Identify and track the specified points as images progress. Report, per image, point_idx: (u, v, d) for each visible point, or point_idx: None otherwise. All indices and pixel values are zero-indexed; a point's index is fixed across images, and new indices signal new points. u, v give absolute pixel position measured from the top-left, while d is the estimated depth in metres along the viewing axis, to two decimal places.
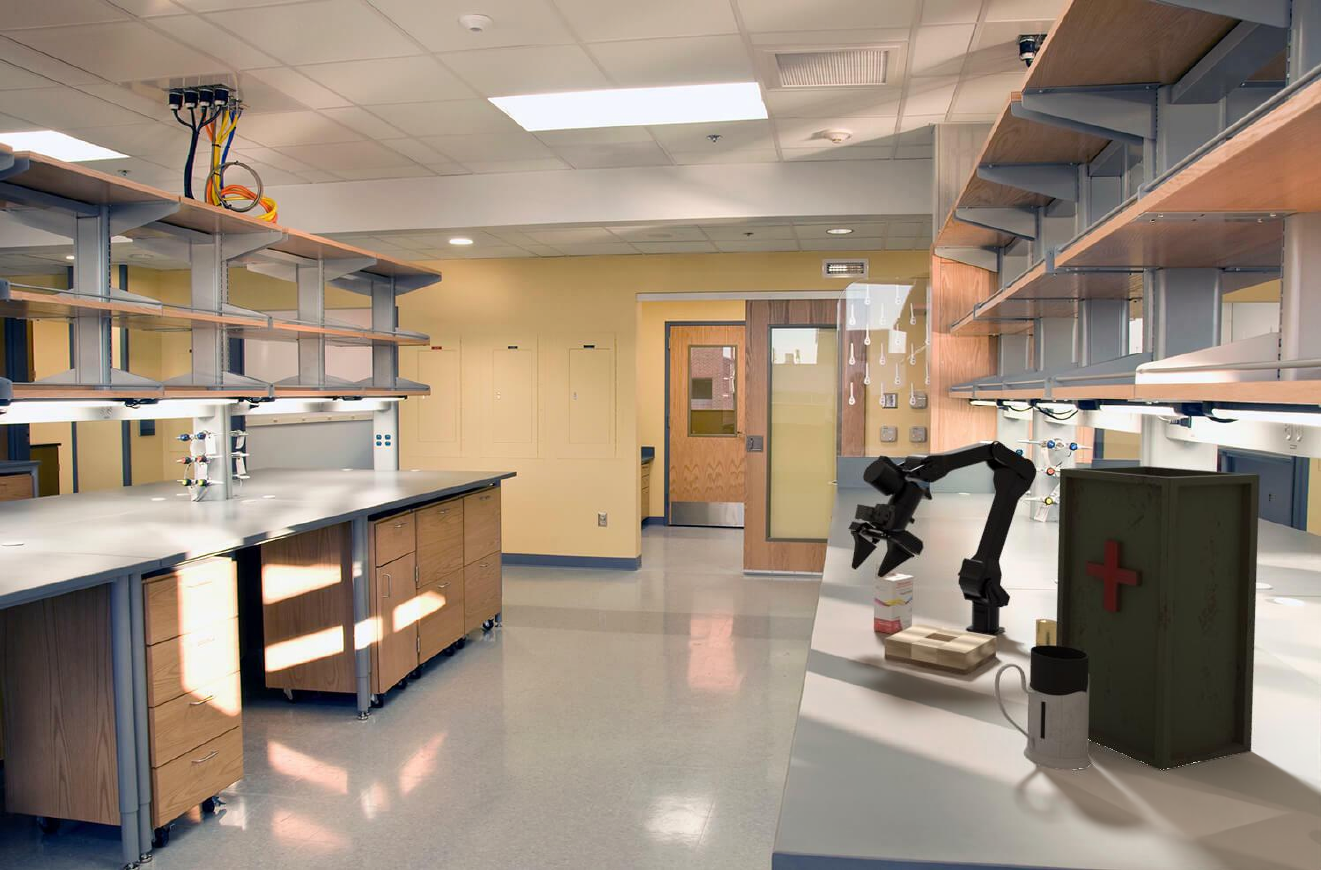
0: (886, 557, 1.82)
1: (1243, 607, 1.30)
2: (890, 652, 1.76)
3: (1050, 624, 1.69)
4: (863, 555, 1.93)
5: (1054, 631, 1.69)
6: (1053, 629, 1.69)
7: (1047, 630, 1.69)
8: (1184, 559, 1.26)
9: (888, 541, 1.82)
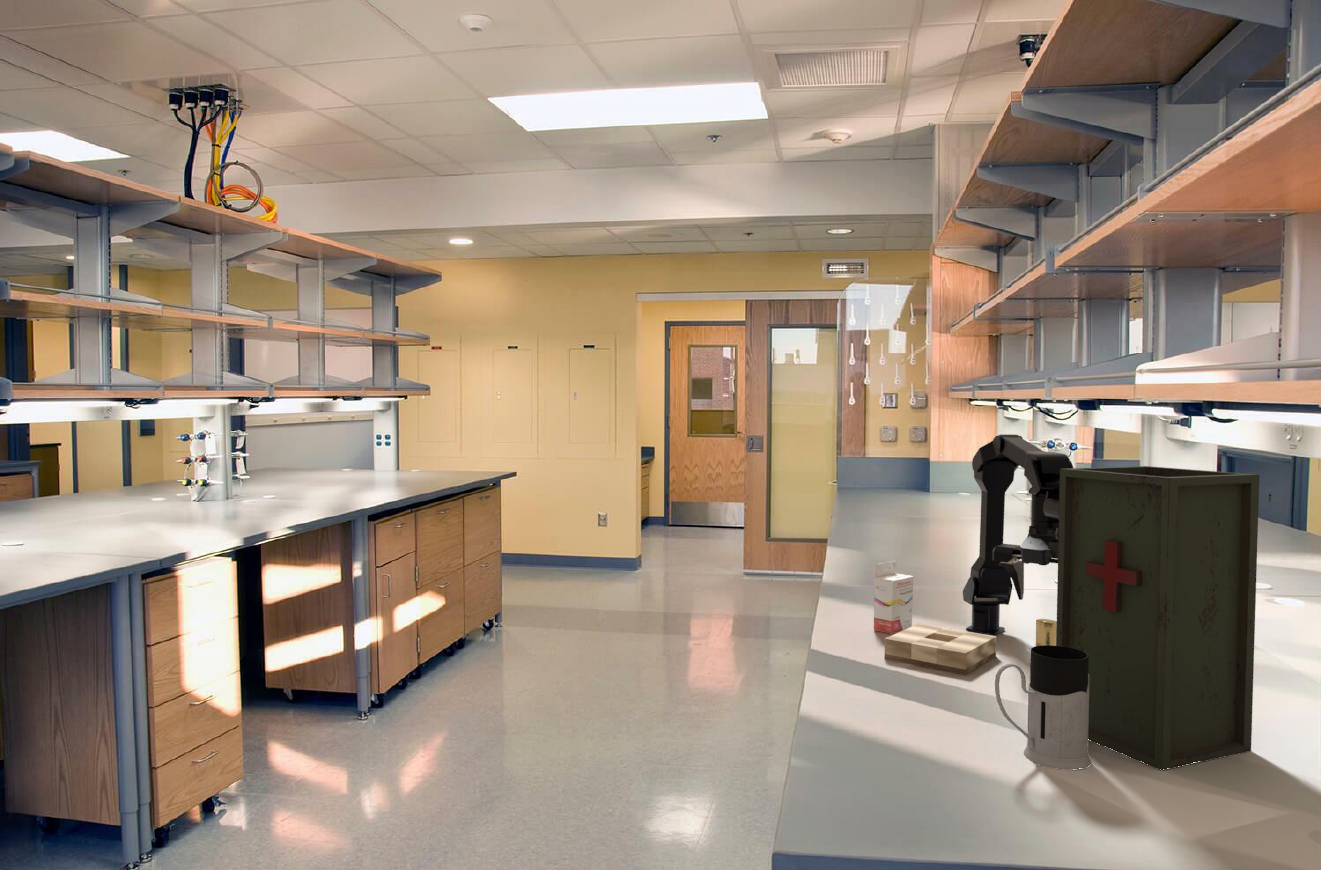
0: None
1: (1243, 607, 1.30)
2: (890, 652, 1.76)
3: (1050, 624, 1.69)
4: (1022, 580, 1.74)
5: (1054, 631, 1.69)
6: (1053, 629, 1.69)
7: (1047, 630, 1.69)
8: (1184, 559, 1.26)
9: None
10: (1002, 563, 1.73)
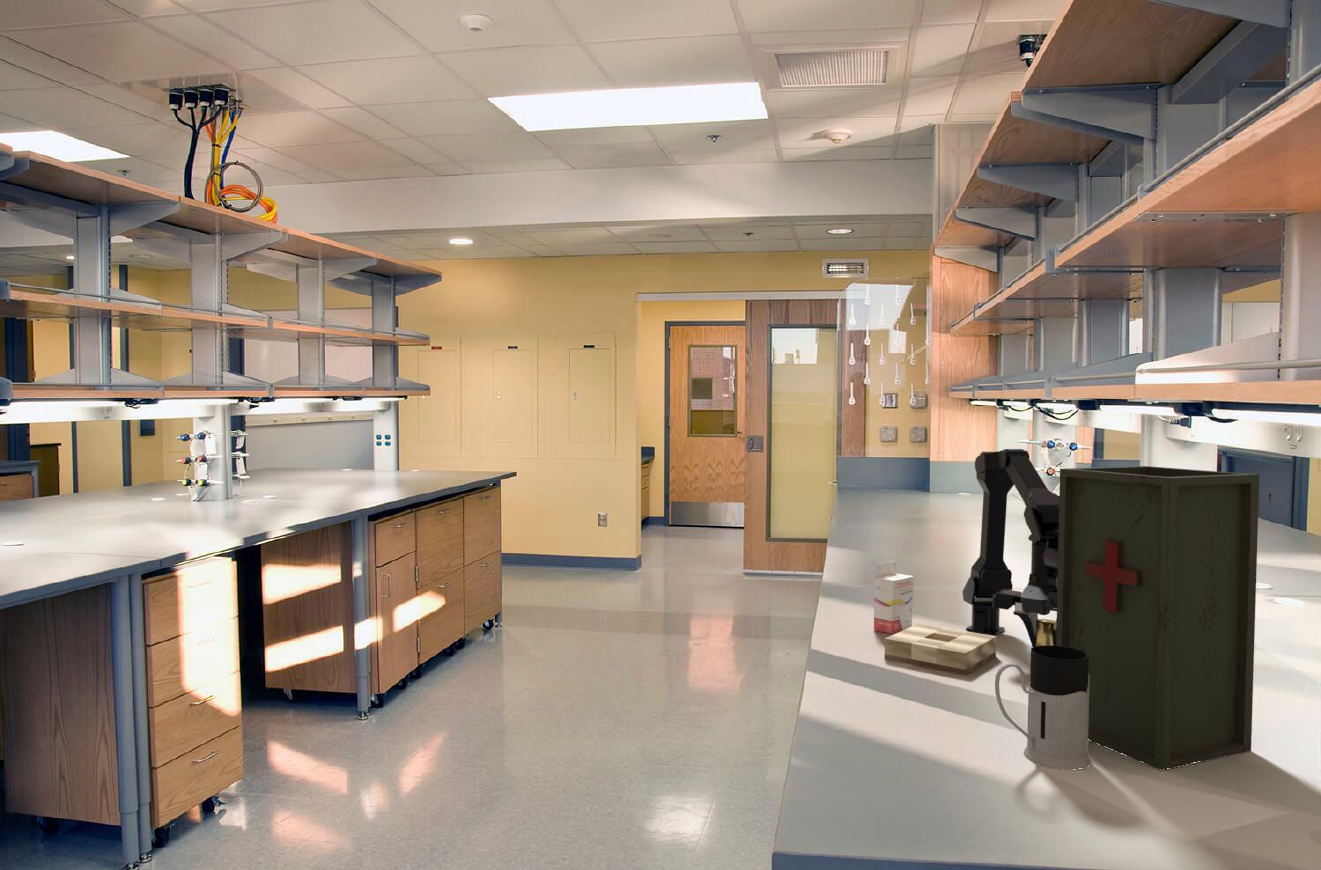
0: None
1: (1243, 607, 1.30)
2: (890, 652, 1.76)
3: (1050, 624, 1.69)
4: None
5: (1054, 631, 1.69)
6: (1053, 629, 1.69)
7: (1047, 630, 1.69)
8: (1184, 559, 1.26)
9: None
10: (1016, 612, 1.72)
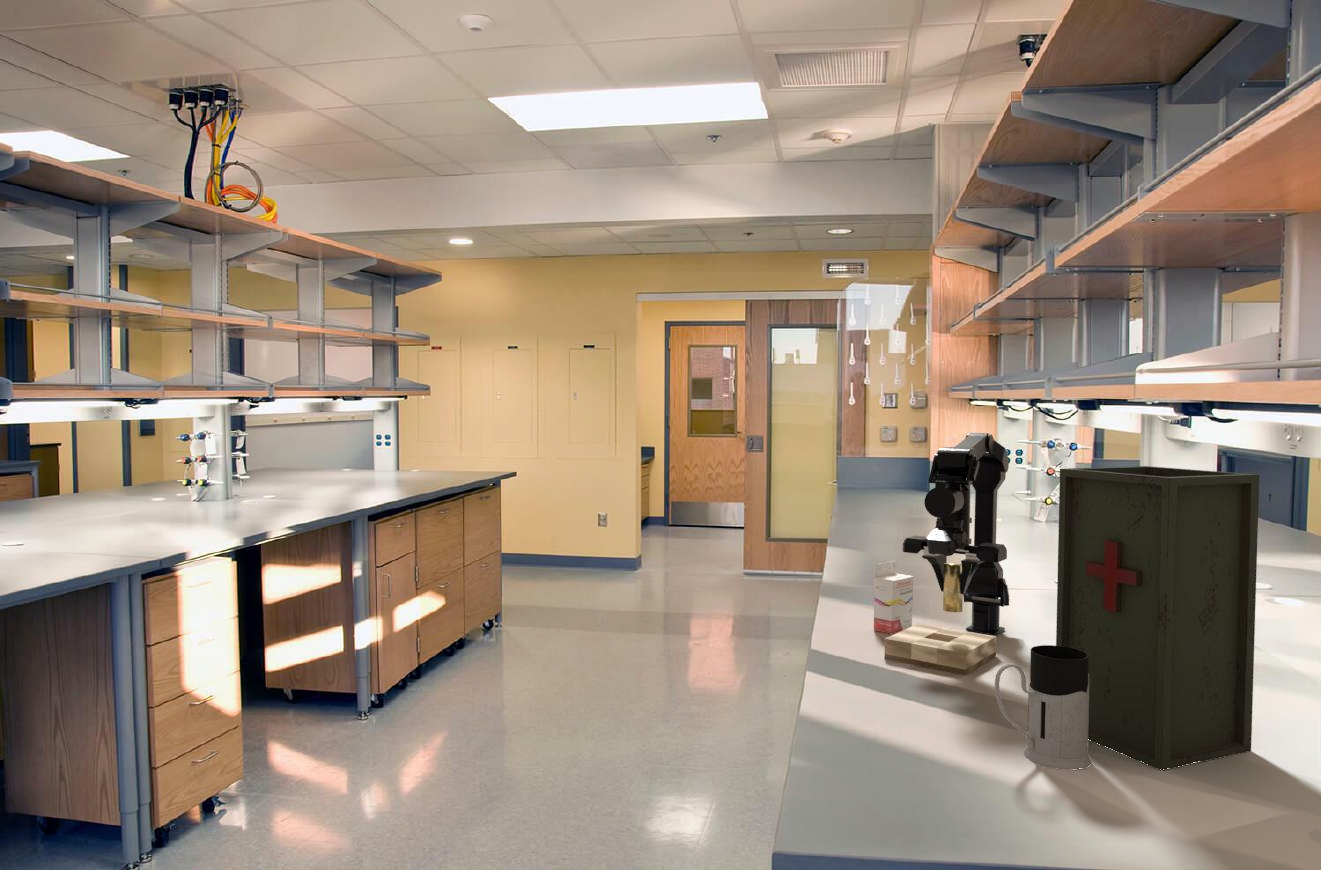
0: (965, 575, 1.74)
1: (1243, 607, 1.30)
2: (890, 652, 1.76)
3: (956, 566, 1.75)
4: None
5: (960, 573, 1.75)
6: (959, 571, 1.75)
7: (953, 572, 1.75)
8: (1184, 559, 1.26)
9: (964, 562, 1.72)
10: (925, 556, 1.77)
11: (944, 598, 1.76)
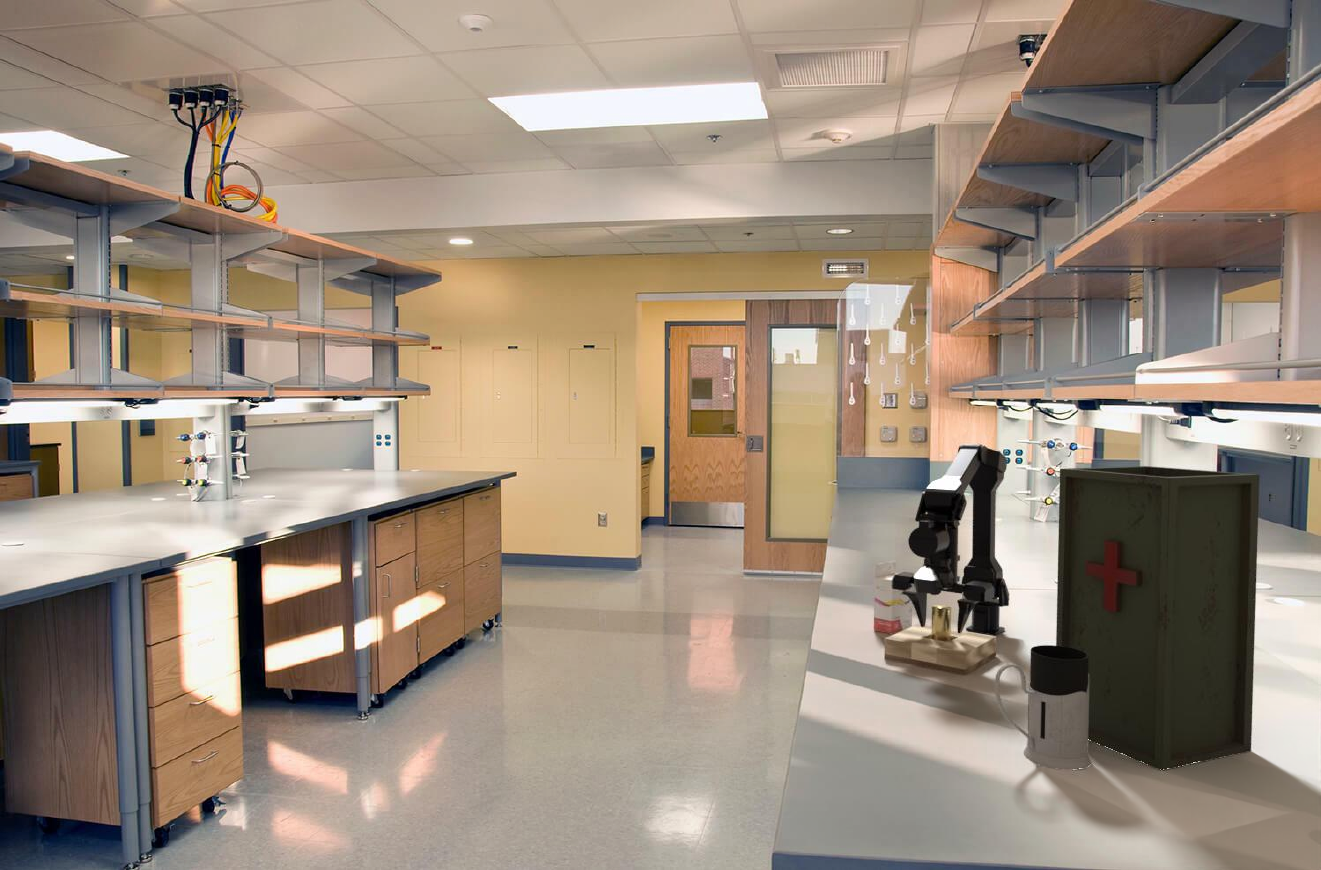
0: (962, 615, 1.74)
1: (1243, 607, 1.30)
2: (890, 652, 1.76)
3: (944, 610, 1.76)
4: (924, 608, 1.81)
5: (948, 616, 1.76)
6: (947, 614, 1.76)
7: (941, 615, 1.76)
8: (1184, 559, 1.26)
9: (960, 602, 1.72)
10: (905, 592, 1.80)
11: None
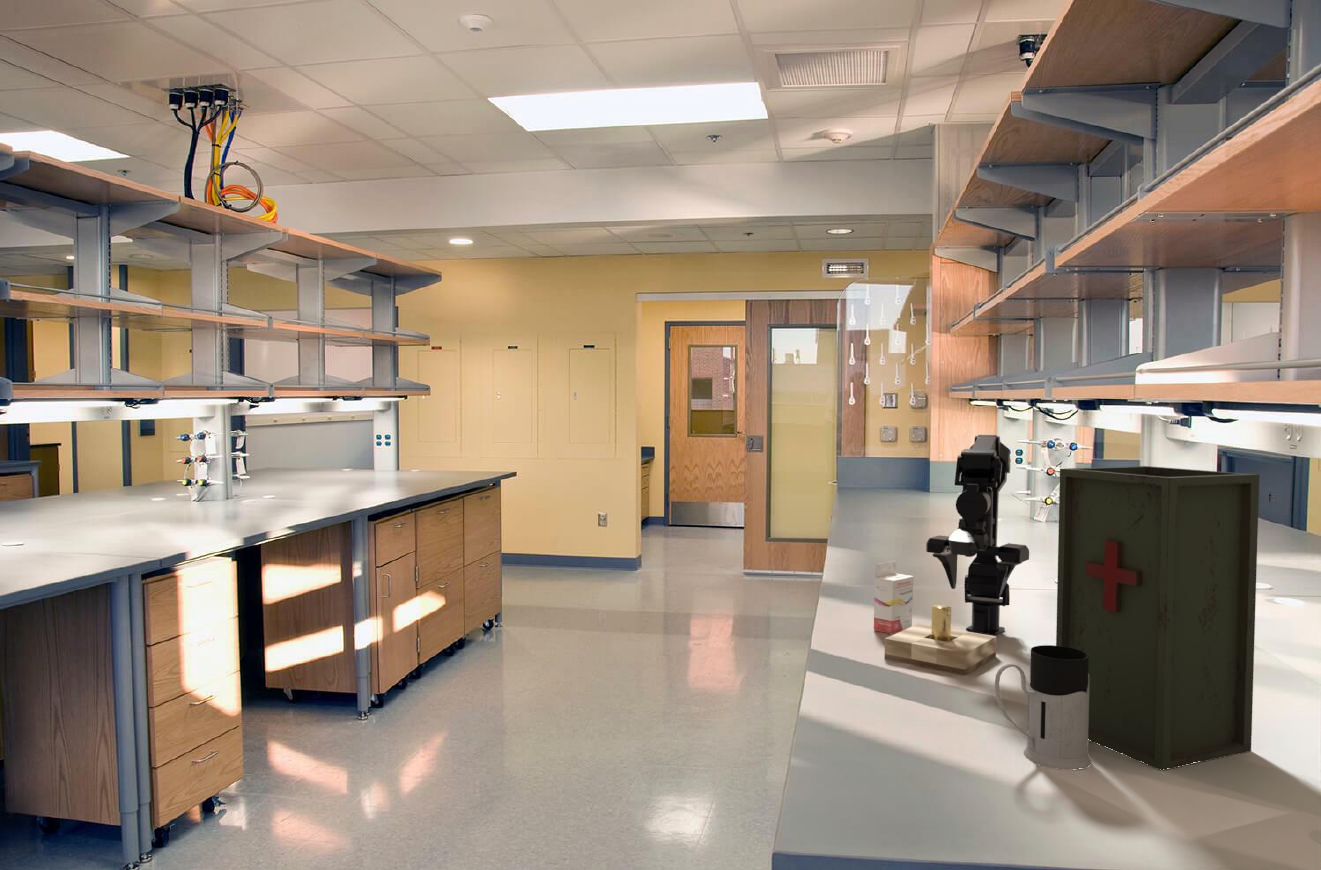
0: (1001, 577, 1.75)
1: (1243, 607, 1.30)
2: (890, 652, 1.76)
3: (944, 610, 1.76)
4: (954, 570, 1.83)
5: (948, 616, 1.76)
6: (946, 614, 1.76)
7: (941, 615, 1.76)
8: (1184, 559, 1.26)
9: (1000, 564, 1.73)
10: (935, 554, 1.82)
11: None
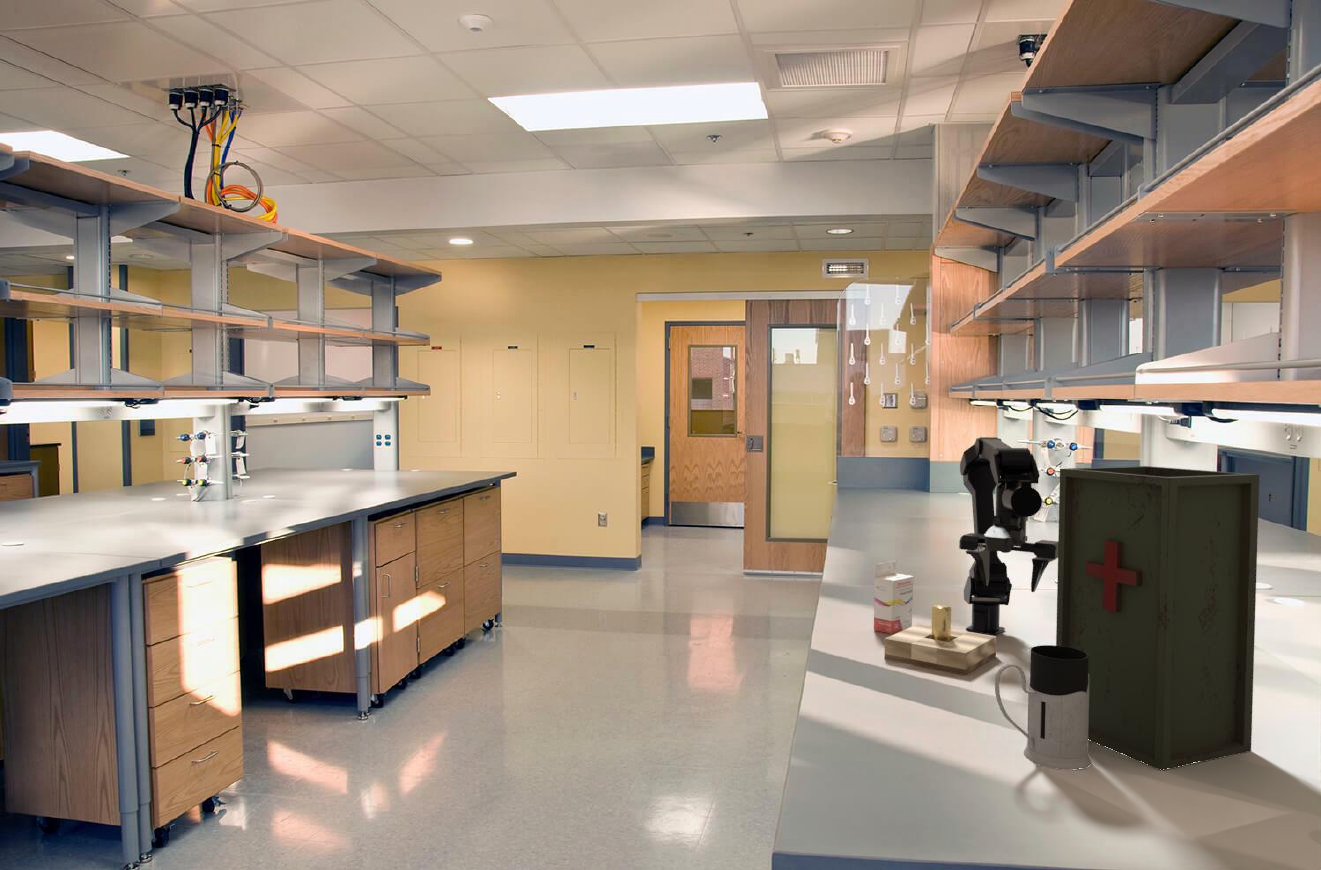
0: (1036, 573, 1.76)
1: (1243, 607, 1.30)
2: (890, 652, 1.76)
3: (944, 610, 1.76)
4: (987, 567, 1.84)
5: (948, 616, 1.76)
6: (946, 614, 1.76)
7: (941, 615, 1.76)
8: (1184, 559, 1.26)
9: (1035, 560, 1.75)
10: (968, 551, 1.84)
11: None
